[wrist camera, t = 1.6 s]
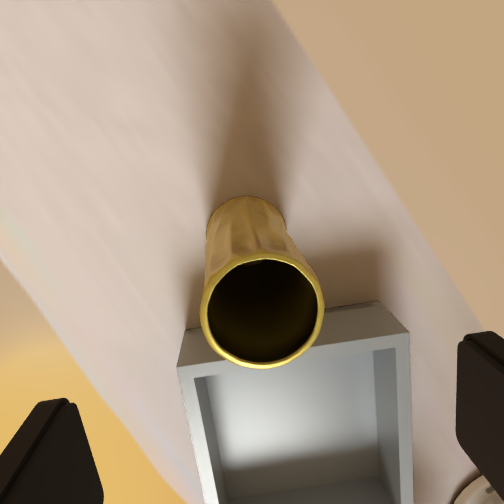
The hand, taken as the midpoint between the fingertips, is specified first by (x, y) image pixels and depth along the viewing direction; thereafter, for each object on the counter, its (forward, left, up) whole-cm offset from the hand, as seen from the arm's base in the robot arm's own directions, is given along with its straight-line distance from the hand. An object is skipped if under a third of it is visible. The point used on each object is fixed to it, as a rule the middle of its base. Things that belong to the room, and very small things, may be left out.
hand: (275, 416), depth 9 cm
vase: (0, 0, -21) cm, 21 cm away
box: (-2, +16, -21) cm, 26 cm away
